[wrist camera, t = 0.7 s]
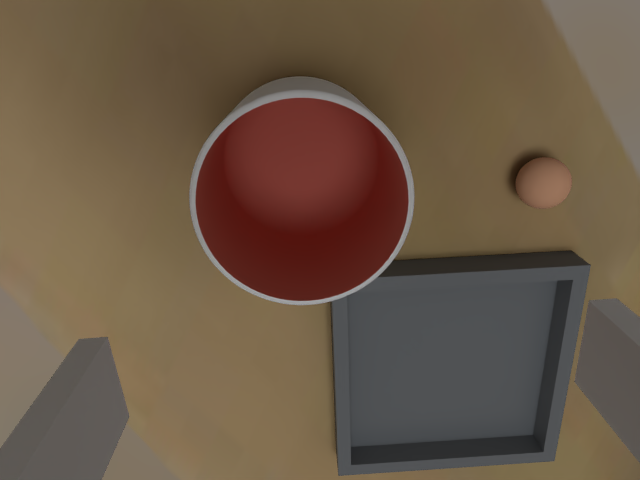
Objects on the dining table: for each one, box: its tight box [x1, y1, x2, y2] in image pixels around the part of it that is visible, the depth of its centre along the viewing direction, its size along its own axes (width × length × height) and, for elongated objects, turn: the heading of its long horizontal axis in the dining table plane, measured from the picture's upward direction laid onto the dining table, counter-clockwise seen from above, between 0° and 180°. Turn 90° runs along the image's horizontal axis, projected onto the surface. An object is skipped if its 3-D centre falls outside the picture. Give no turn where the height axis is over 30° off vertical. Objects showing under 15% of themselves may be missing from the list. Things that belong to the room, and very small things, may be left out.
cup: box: [189, 76, 414, 305], centre depth 26 cm, size 10×10×10 cm
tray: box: [330, 251, 591, 476], centre depth 36 cm, size 17×17×2 cm
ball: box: [515, 157, 572, 209], centre depth 30 cm, size 3×3×3 cm
